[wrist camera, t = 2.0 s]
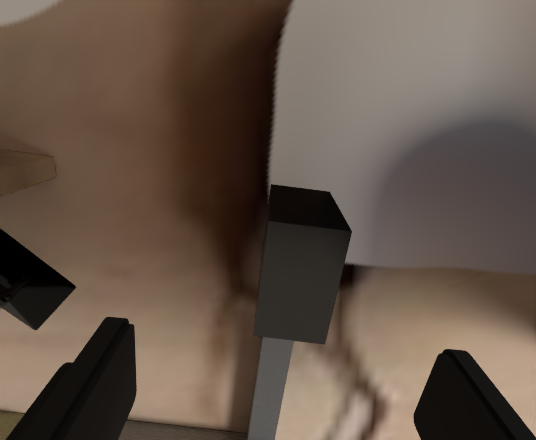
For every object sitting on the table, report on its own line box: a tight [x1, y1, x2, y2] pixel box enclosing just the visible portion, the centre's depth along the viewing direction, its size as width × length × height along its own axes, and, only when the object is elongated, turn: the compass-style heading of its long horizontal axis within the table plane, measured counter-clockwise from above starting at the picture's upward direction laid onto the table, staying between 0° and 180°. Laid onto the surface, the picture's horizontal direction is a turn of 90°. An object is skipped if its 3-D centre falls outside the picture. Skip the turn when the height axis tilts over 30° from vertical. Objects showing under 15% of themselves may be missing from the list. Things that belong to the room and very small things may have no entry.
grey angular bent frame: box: [118, 184, 352, 440], centre depth 20 cm, size 23×16×6 cm
